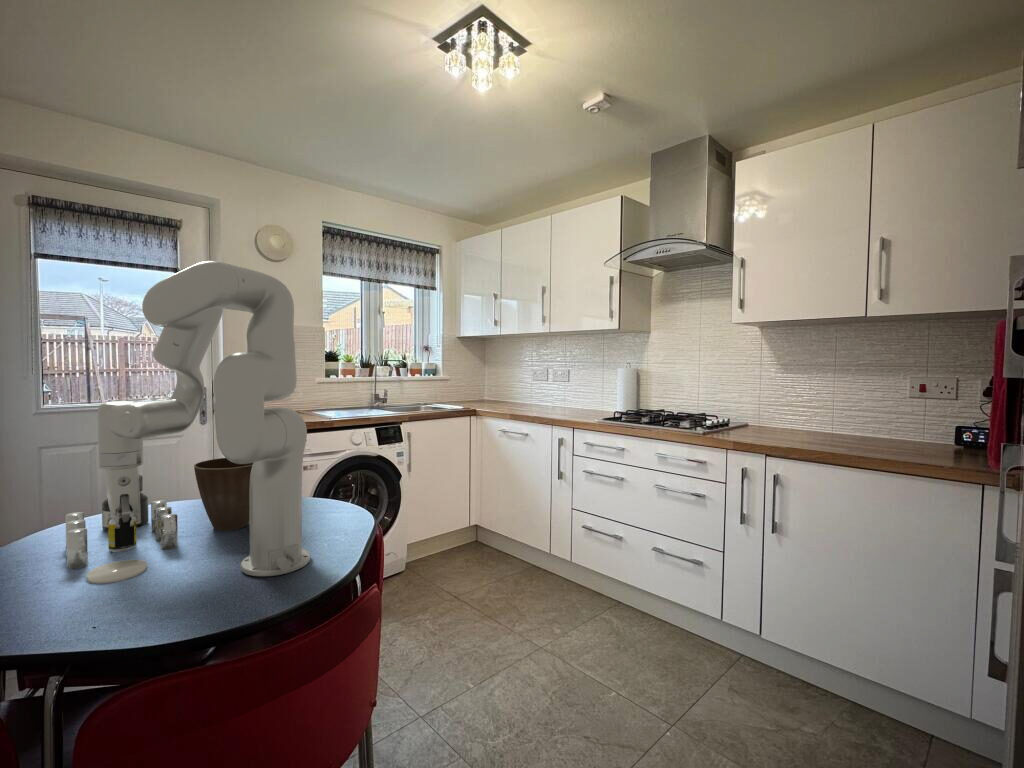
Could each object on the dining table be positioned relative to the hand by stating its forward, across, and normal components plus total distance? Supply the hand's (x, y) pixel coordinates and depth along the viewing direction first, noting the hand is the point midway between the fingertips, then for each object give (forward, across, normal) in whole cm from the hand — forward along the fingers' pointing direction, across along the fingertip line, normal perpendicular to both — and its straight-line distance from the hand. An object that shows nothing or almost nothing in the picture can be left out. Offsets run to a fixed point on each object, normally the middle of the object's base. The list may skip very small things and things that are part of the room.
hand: (122, 540), depth 107 cm
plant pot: (+2, +1, -21) cm, 21 cm away
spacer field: (+2, +1, 0) cm, 2 cm away
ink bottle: (+2, +17, -2) cm, 17 cm away
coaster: (+2, -15, +2) cm, 15 cm away
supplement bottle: (+2, 0, 0) cm, 2 cm away
